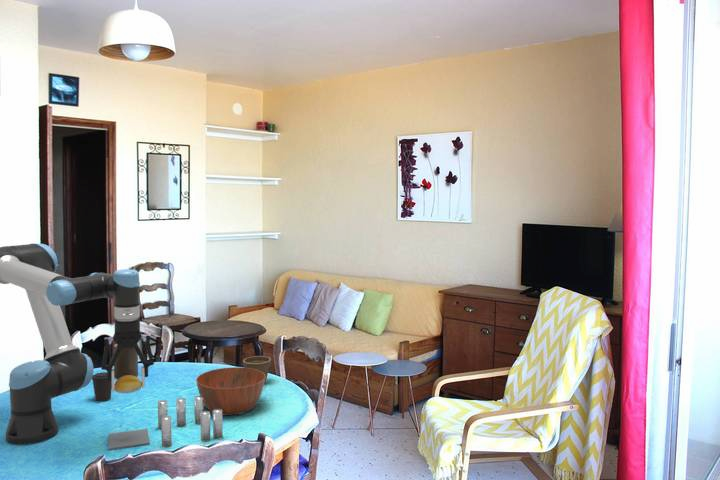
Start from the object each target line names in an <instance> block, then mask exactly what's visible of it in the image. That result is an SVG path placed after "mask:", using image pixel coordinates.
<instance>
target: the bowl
mask: <svg viewBox="0 0 720 480" xmlns="http://www.w3.org/2000/svg"><path fill="white" fill-rule="evenodd" d="M195 380H196V386H197V390H198V391H197V392H198V393H199V396H203V401H204V406H205V408H206V409H207V411H210V413H213V410H214V409H222V416H234V415H235V416H236V415H240V414H241V415H242V414H244V413H247V412H249V411H251V410H252V409H254V408H255V407H256V405H257V404H258V403H259V400H260V398H261V396H262V393H263V390H264V386H265V384H264V382H265V374H264V373H263V372H261V371H259V370H256V369H252V368H245V367H241V366H240V367H239V366H238V367H236V366H235V367H222V368H216V369H211V370H209V371H205V372H203V373H201V374H199V375H198V376H197V377H196V379H195Z"/></svg>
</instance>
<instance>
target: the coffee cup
mask: <svg viewBox="0 0 720 480" xmlns="http://www.w3.org/2000/svg"><path fill="white" fill-rule="evenodd" d="M91 381H92V385H93V392H94V399H95V401H96V402H99V403H101V402H107V401H110V400H112V399H111V397H112V381H108V372H107V371H104V372H96V373H95V374H94V373H93V376H92V379H91Z"/></svg>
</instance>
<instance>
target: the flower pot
mask: <svg viewBox="0 0 720 480" xmlns="http://www.w3.org/2000/svg"><path fill="white" fill-rule="evenodd" d="M242 363H243V365H242V366H243V368H252V369H256V370H259V371H261V372H263V373H264V374H265V382H264V385H265V384H266V382H267V378H268V375H269V369H270V366H271V365H272V359H271V357H268V356H264V355H255V356H249V357H246V358H243V360H242Z"/></svg>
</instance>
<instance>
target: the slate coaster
mask: <svg viewBox="0 0 720 480" xmlns="http://www.w3.org/2000/svg"><path fill="white" fill-rule="evenodd" d="M148 445H150V436H149V429H148V428H144V429H143V428H142V429H141V428H140V429H136V430H135V429H133V430H128V431H127V430H126V431H119V432H113V433H108V451H113V450H114V451H115V450H121V449H122V450H123V449H127V448H134V447H142V446H148Z"/></svg>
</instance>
